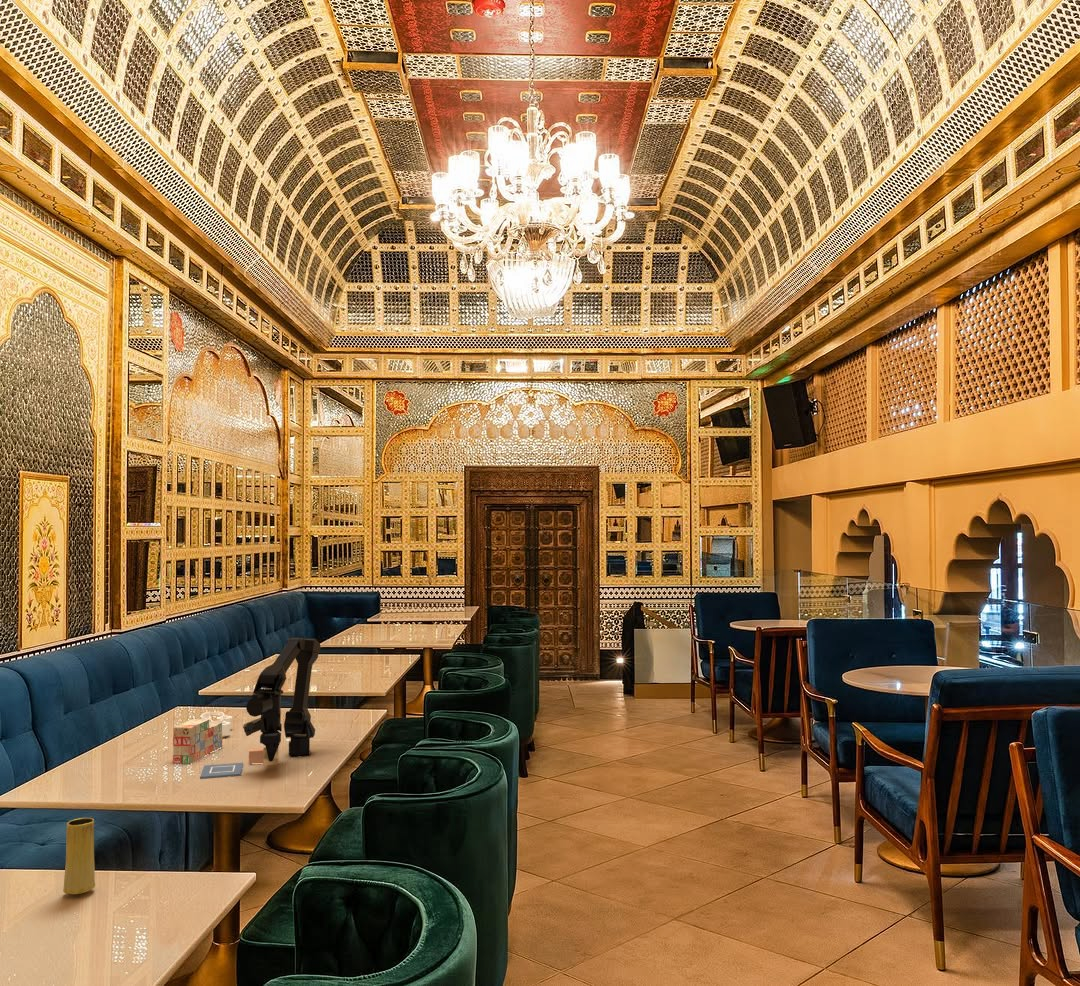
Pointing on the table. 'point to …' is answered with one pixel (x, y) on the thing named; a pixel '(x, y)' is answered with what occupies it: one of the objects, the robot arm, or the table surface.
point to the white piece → (220, 721)
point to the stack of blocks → (195, 740)
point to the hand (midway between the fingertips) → (271, 759)
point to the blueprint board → (221, 770)
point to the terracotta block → (256, 755)
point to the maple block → (266, 760)
